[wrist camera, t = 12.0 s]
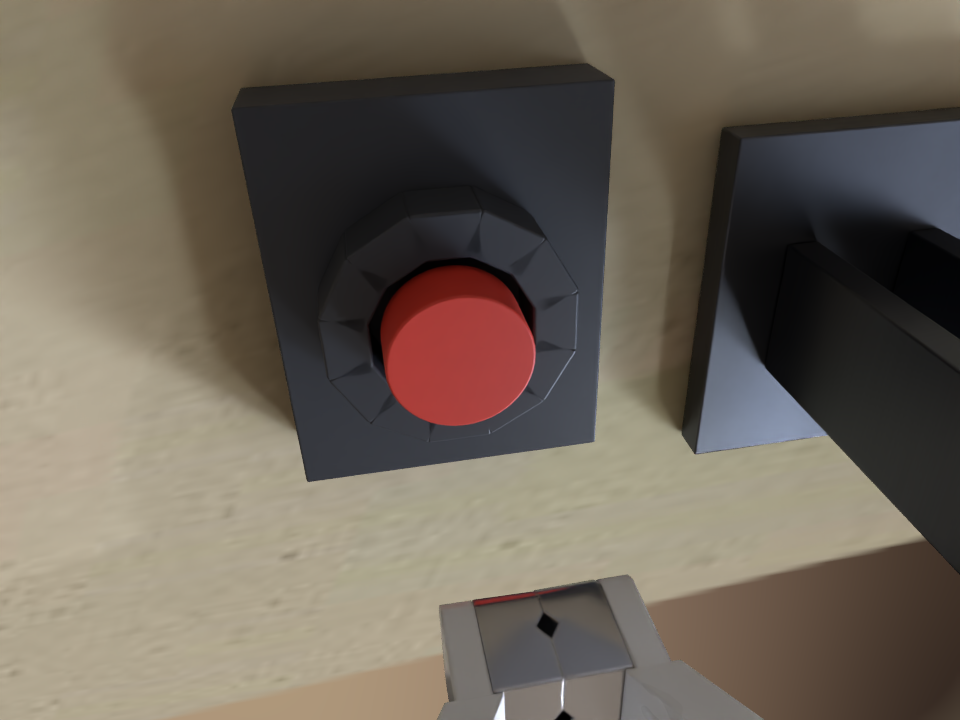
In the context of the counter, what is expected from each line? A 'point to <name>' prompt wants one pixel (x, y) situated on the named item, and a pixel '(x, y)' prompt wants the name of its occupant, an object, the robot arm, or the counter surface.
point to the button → (456, 346)
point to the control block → (429, 244)
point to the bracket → (839, 303)
